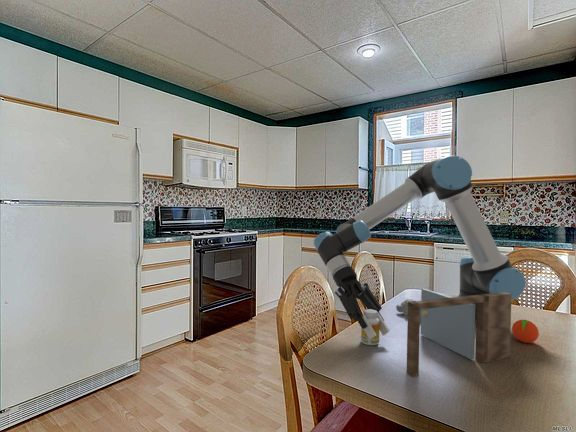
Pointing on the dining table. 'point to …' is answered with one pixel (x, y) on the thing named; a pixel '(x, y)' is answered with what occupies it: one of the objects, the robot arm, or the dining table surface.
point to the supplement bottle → (374, 322)
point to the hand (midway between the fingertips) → (379, 335)
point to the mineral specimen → (405, 307)
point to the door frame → (489, 326)
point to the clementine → (525, 331)
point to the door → (449, 324)
